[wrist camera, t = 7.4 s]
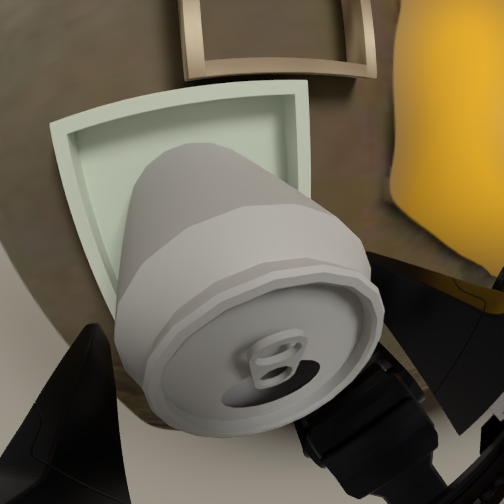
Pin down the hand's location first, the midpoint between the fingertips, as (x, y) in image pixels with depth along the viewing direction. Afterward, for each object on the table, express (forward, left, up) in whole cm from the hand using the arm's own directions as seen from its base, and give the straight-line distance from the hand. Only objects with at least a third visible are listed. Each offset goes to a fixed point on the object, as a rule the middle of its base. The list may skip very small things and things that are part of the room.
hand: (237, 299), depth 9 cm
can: (0, 0, -9) cm, 9 cm away
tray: (0, 0, -9) cm, 9 cm away
